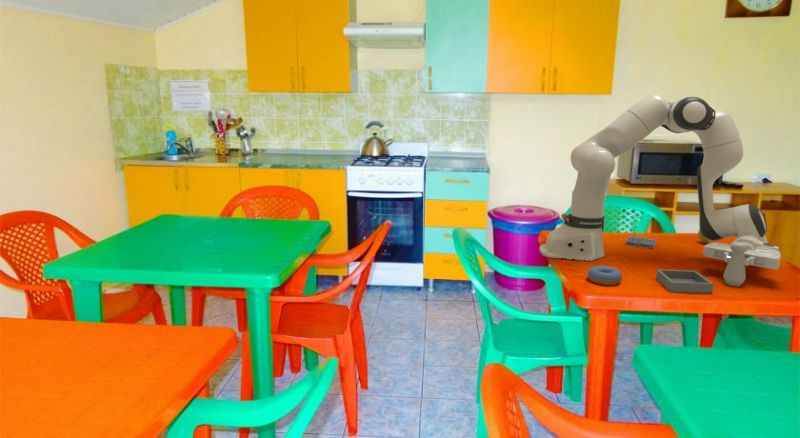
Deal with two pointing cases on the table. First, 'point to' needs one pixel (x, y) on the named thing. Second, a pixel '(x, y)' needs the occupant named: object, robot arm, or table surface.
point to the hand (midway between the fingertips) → (736, 261)
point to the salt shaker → (736, 265)
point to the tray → (684, 281)
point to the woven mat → (641, 242)
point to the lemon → (703, 237)
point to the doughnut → (604, 275)
